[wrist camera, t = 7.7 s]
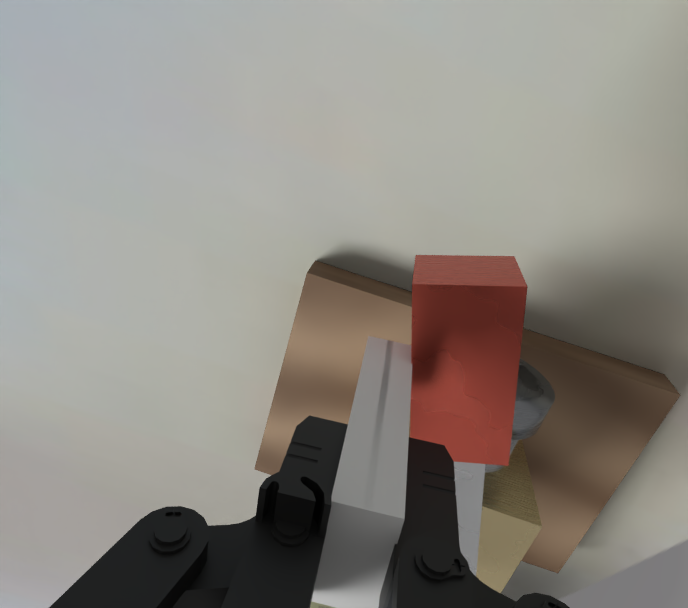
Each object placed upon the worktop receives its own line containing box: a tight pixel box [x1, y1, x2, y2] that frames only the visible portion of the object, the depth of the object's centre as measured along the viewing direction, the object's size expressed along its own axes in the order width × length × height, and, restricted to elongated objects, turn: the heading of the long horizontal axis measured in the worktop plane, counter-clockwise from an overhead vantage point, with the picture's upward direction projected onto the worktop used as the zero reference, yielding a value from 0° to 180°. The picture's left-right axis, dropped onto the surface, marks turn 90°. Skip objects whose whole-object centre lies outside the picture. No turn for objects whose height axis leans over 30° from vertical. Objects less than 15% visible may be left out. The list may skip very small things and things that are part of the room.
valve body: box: [409, 359, 555, 593], centre depth 25 cm, size 14×6×10 cm, turn 164°
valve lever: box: [410, 255, 527, 576], centre depth 17 cm, size 16×3×2 cm, turn 2°
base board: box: [255, 261, 680, 573], centre depth 31 cm, size 14×20×2 cm
